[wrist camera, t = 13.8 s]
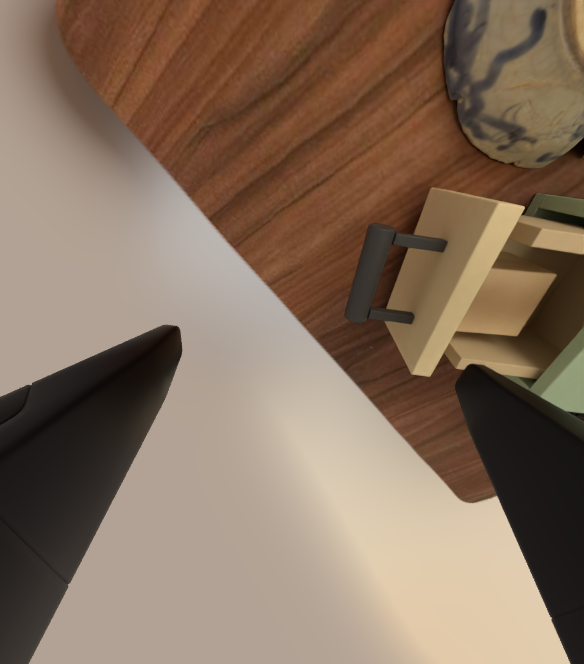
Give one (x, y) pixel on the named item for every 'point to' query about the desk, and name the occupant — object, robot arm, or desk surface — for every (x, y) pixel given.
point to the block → (507, 296)
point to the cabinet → (580, 354)
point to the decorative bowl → (517, 76)
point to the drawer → (471, 284)
